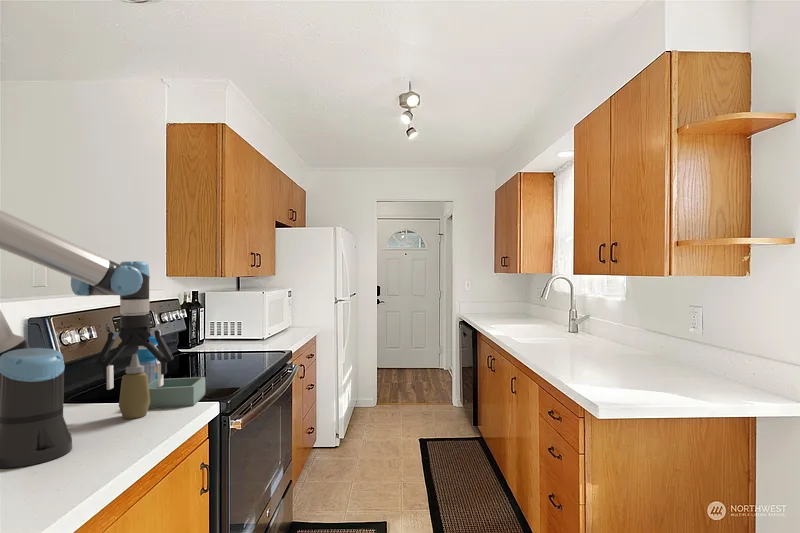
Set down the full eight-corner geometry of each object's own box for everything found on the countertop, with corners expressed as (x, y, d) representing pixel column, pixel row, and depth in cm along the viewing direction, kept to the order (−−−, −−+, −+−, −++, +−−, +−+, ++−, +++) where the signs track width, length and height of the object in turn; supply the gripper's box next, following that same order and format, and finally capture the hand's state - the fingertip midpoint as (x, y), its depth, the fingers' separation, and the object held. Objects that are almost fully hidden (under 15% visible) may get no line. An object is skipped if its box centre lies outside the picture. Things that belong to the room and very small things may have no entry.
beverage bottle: (140, 397, 162) (140, 338, 163) (129, 394, 168) (129, 337, 168) (165, 392, 169) (165, 336, 170) (153, 389, 174) (153, 334, 175)
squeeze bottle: (140, 420, 134) (140, 356, 135) (112, 420, 134) (112, 356, 135) (155, 412, 142) (155, 352, 143) (128, 413, 142) (129, 352, 143)
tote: (193, 405, 149) (193, 386, 150) (138, 409, 147) (138, 389, 147) (205, 394, 165) (205, 377, 165) (155, 397, 162) (155, 379, 163)
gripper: (183, 311, 145) (184, 381, 144) (94, 314, 141) (94, 387, 140) (176, 313, 138) (177, 387, 137) (81, 316, 133) (82, 392, 133)
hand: (135, 387), depth 139 cm, fingers open, 13 cm apart
